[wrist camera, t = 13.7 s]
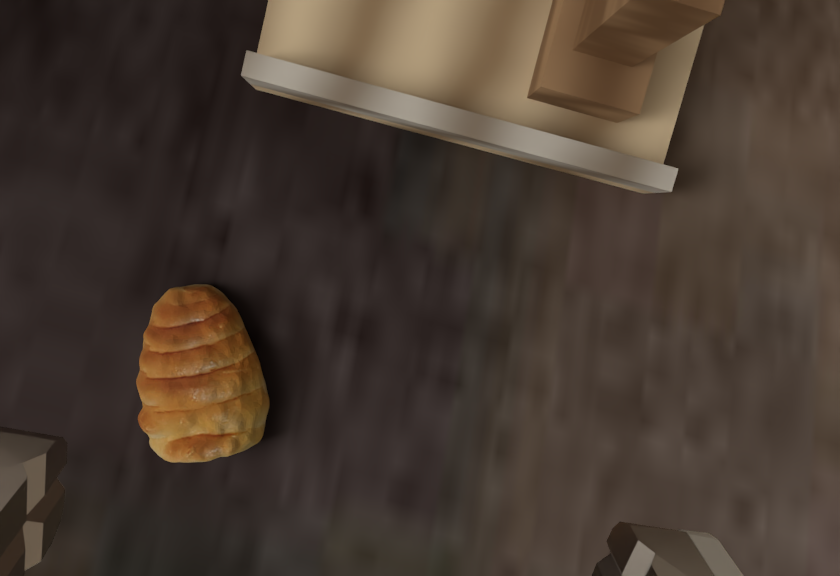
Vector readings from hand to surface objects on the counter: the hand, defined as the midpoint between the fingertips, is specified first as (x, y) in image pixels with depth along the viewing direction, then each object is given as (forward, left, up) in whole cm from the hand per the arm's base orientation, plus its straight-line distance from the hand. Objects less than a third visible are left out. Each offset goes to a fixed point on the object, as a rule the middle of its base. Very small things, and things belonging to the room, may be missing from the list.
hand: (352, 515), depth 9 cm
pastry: (-8, -7, -26) cm, 29 cm away
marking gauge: (+8, +15, -24) cm, 30 cm away
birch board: (+2, +15, -26) cm, 30 cm away
